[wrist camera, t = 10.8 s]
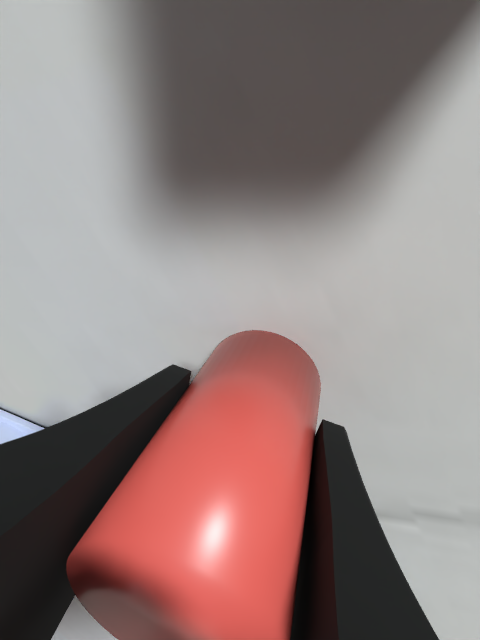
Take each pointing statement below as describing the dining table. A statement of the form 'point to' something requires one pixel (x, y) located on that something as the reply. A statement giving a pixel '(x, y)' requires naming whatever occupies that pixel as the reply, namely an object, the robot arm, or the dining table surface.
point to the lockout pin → (211, 506)
